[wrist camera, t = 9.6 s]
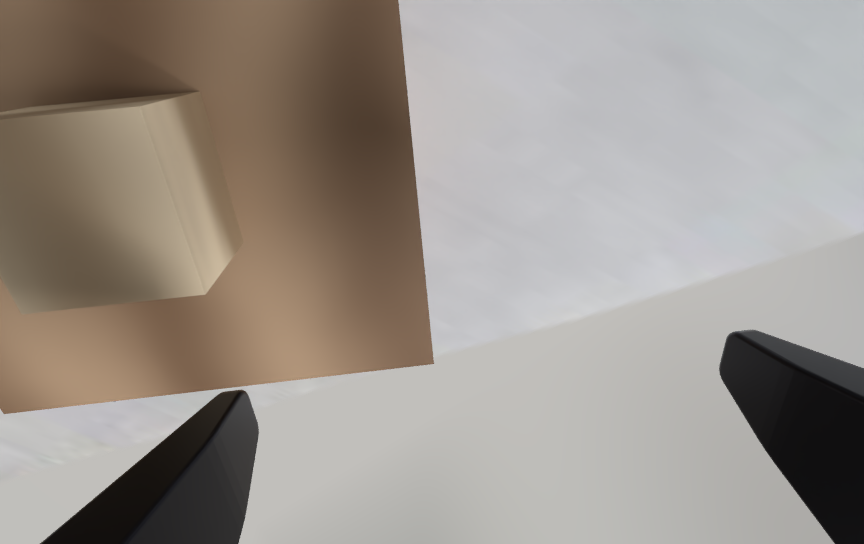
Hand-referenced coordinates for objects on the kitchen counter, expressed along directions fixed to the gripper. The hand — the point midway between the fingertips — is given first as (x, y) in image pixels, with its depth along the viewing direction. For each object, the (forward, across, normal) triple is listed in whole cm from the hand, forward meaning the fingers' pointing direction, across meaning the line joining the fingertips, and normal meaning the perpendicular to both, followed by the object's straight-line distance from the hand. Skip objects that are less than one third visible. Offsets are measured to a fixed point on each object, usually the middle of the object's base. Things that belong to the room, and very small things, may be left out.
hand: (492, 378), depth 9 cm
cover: (+6, +8, -3) cm, 11 cm away
